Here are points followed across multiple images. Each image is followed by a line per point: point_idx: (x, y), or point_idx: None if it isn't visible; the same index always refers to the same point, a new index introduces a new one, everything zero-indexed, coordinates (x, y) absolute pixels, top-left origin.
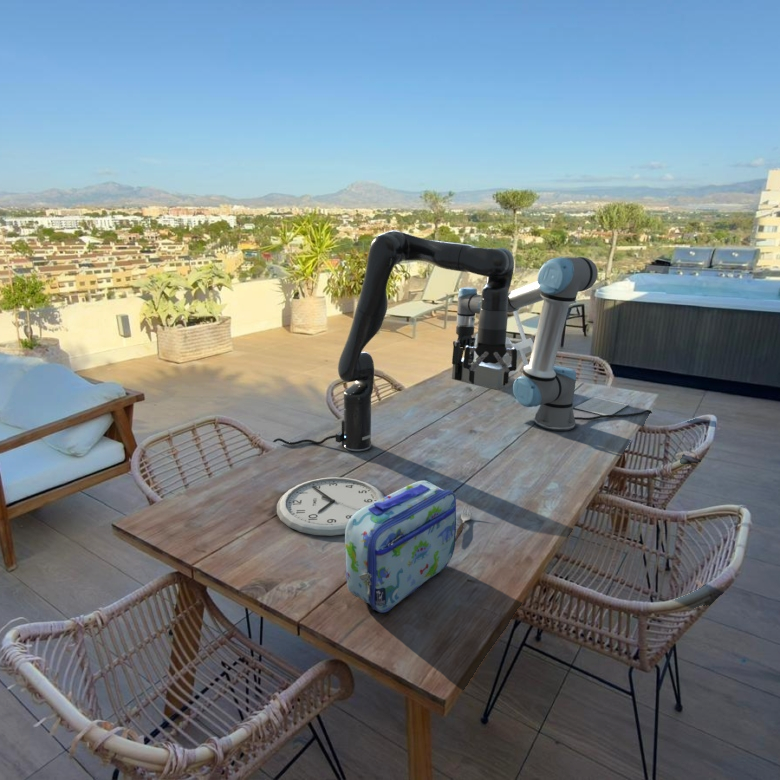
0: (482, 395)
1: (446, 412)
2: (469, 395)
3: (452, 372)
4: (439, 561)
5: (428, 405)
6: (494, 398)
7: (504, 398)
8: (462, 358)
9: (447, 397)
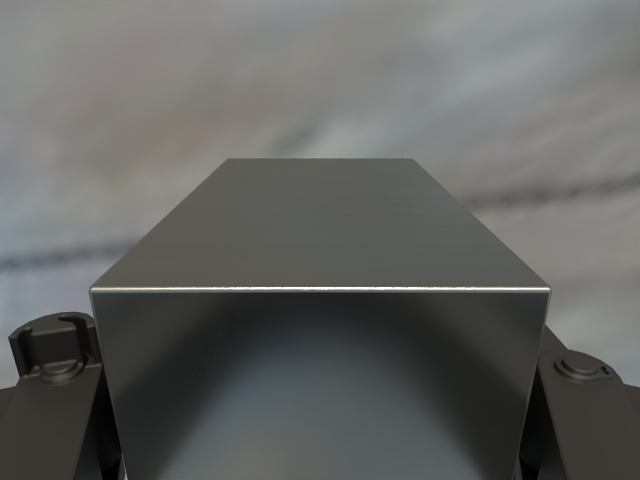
0: (588, 211)
1: (62, 238)
2: (527, 134)
3: (201, 185)
4: None
5: (55, 35)
6: (567, 307)
7: (607, 352)
8: (434, 405)
9: (352, 21)
